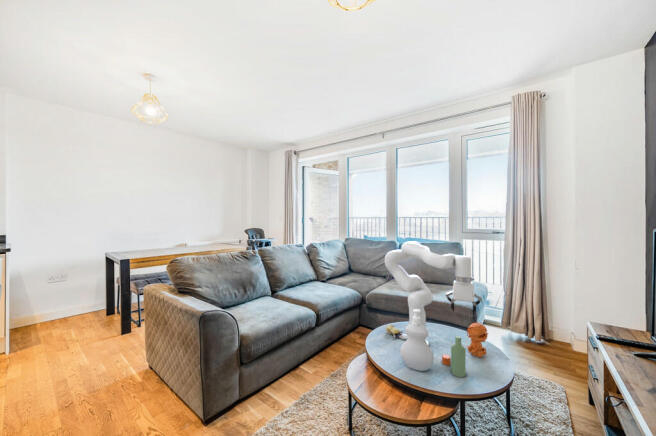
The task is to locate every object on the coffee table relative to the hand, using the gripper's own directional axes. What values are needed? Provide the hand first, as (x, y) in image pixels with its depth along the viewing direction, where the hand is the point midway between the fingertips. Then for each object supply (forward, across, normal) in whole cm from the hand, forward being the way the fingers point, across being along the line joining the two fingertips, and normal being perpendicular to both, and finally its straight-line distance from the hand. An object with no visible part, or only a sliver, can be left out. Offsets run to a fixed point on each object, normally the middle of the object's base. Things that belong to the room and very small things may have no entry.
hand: (463, 311), depth 142 cm
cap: (+27, +8, +4) cm, 29 cm away
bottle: (+27, +3, +12) cm, 30 cm away
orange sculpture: (+27, -7, -12) cm, 31 cm away
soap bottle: (+27, +22, +15) cm, 38 cm away
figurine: (+27, +39, -16) cm, 50 cm away
